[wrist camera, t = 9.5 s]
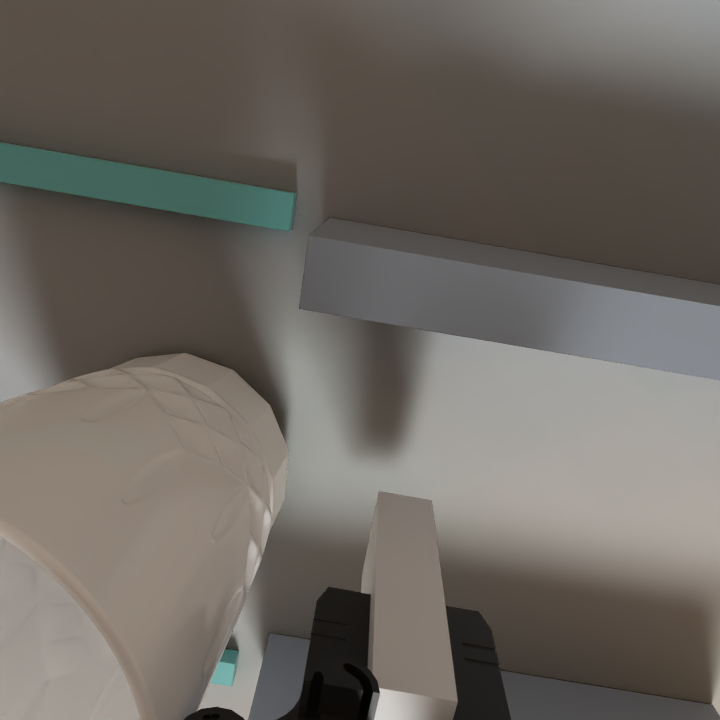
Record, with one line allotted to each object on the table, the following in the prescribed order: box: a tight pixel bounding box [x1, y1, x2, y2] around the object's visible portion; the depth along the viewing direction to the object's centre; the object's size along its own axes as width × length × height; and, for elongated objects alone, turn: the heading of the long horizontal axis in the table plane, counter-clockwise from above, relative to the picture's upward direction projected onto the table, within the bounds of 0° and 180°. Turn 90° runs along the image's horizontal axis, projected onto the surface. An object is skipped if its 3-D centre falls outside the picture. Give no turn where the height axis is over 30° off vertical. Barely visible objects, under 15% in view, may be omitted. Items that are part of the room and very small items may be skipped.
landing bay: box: [0, 142, 297, 686], centre depth 19 cm, size 13×17×1 cm
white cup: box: [0, 353, 289, 720], centre depth 14 cm, size 8×8×10 cm
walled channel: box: [248, 218, 720, 720], centre depth 17 cm, size 16×16×5 cm
